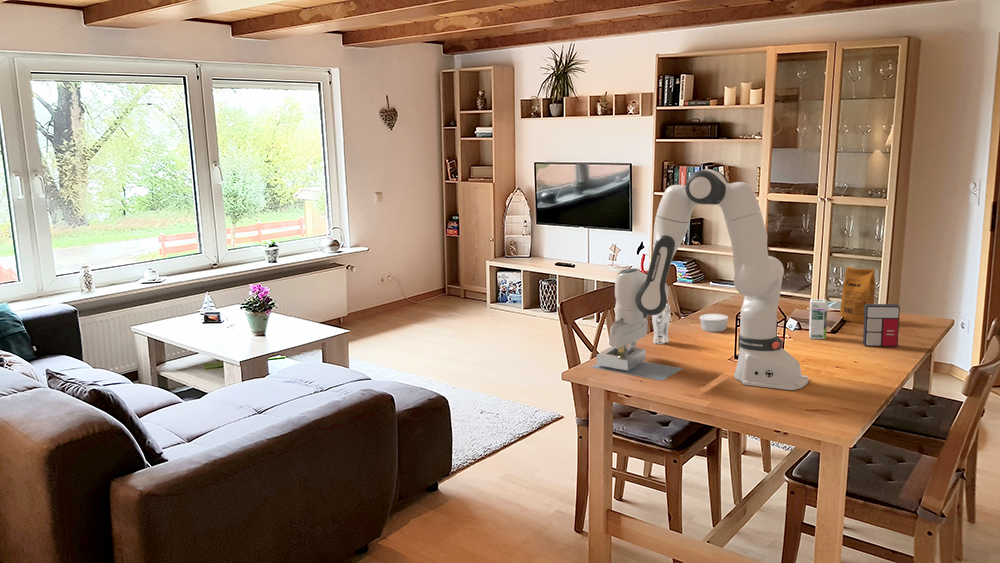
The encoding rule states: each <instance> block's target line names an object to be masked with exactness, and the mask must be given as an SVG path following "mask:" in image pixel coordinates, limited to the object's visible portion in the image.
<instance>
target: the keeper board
mask: <svg viewBox="0 0 1000 563" xmlns="http://www.w3.org/2000/svg"><path fill="white" fill-rule="evenodd" d="M590 368H593V369H599V370H603V371H609V372H614V373H619V374H625V375H630V376H635V377H641V378H647V379H651V380H655V381H664V380H666V379H668V378H669V377H671V376H673V375H674V374H676V373H678V372H680V371H681V370H683V369H684V368H682V367H676V366H671V365H665V364H660V363H656V362H655V363H654V362H648V361H644V360H643V361H642V362H640V363H639V364H637V365H636V366H634V367H633V368H631V369H630V370H628V371H627V370H621V369H616V368H610V367H605V366H600V365H597V363H596V364H594V365H591V366H590Z"/></svg>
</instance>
